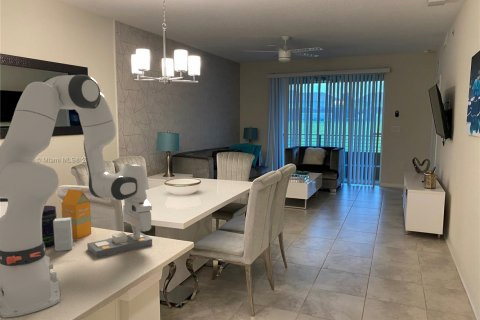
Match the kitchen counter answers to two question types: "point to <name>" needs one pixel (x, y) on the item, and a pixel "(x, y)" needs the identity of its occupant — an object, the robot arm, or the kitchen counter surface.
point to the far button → (136, 237)
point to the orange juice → (77, 212)
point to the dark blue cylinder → (48, 225)
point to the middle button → (119, 238)
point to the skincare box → (63, 234)
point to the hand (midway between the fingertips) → (136, 236)
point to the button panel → (118, 246)
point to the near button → (101, 244)
